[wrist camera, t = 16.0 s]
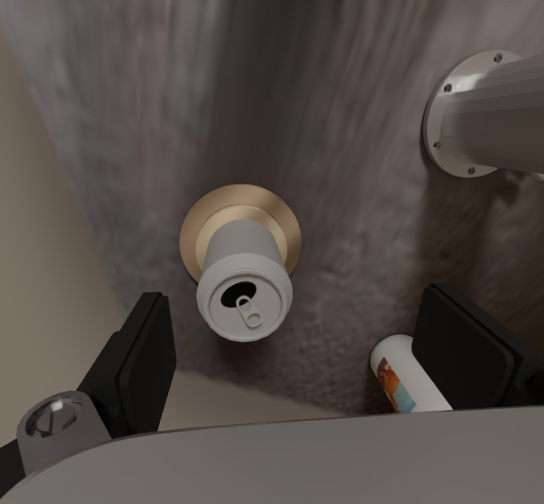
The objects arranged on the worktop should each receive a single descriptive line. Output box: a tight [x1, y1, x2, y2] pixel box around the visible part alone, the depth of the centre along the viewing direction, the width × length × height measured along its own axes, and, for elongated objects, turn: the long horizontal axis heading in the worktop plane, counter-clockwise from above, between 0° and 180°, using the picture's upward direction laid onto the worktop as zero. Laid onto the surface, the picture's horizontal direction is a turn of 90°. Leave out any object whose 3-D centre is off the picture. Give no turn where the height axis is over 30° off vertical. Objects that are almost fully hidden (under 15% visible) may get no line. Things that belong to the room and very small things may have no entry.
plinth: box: [180, 184, 301, 283], centre depth 35 cm, size 14×14×3 cm
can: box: [196, 219, 293, 342], centre depth 28 cm, size 8×8×12 cm
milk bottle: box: [370, 334, 453, 413], centre depth 36 cm, size 8×8×20 cm
